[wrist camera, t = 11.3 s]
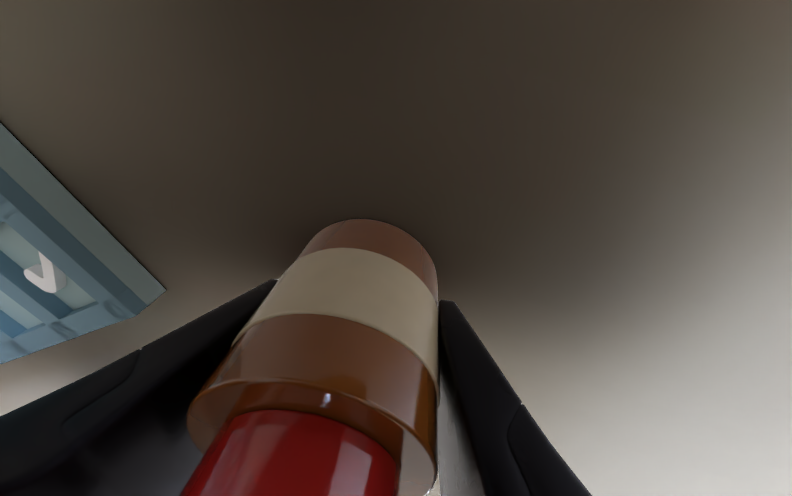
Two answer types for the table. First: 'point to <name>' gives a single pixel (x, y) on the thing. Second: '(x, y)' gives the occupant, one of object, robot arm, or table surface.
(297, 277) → the spice bottle
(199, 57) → the table surface
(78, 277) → the calendar
